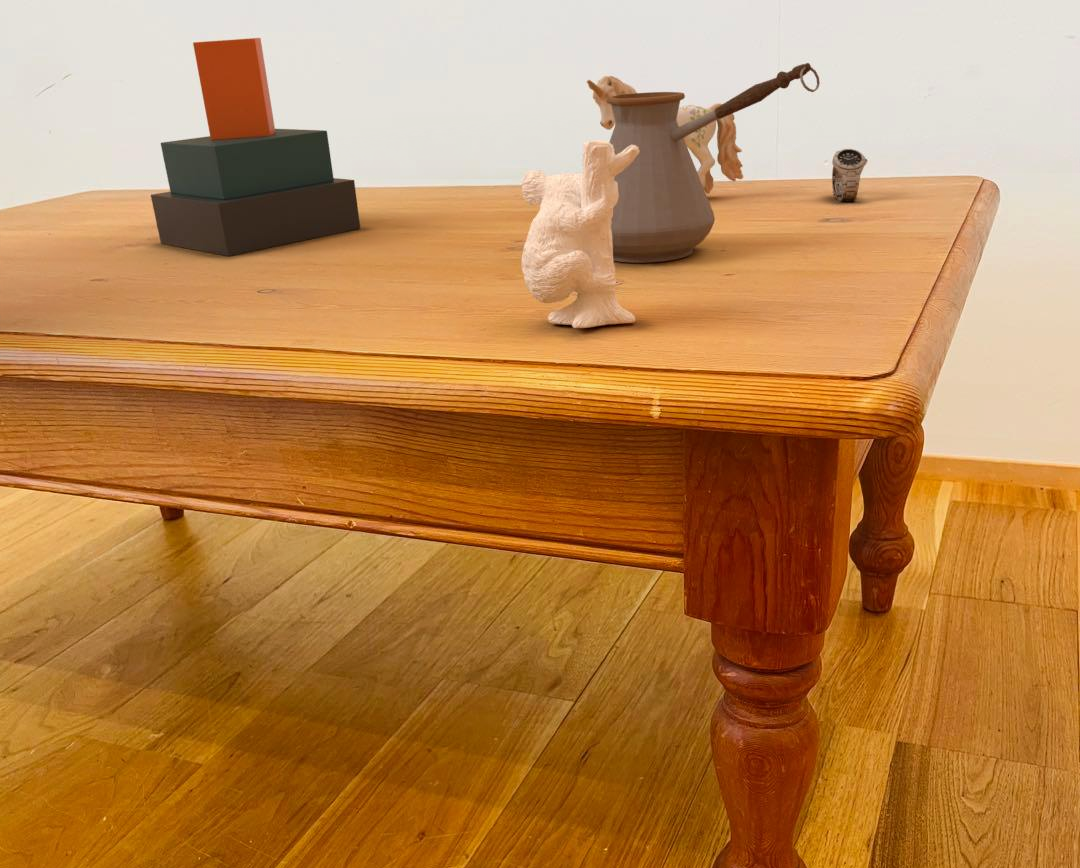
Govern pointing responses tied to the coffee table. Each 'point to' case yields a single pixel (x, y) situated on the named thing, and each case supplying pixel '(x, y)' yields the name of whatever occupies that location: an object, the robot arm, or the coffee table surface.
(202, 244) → the box stack
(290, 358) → the coffee table surface
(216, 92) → the orange block
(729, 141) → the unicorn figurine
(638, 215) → the coffee pot
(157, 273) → the coffee table surface
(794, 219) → the coffee table surface
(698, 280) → the coffee table surface
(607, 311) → the koala figurine
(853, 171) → the wristwatch
